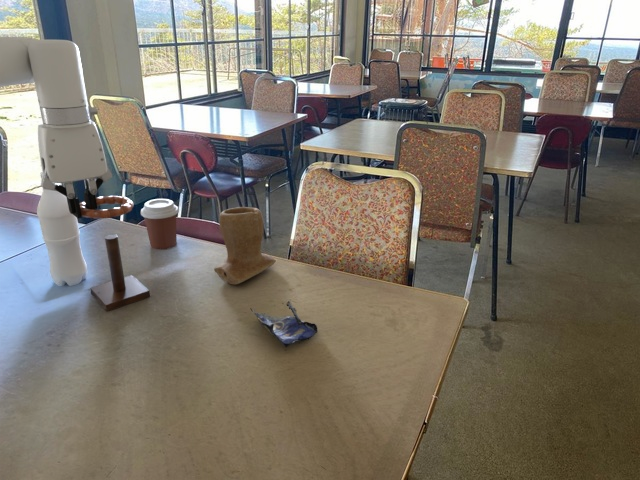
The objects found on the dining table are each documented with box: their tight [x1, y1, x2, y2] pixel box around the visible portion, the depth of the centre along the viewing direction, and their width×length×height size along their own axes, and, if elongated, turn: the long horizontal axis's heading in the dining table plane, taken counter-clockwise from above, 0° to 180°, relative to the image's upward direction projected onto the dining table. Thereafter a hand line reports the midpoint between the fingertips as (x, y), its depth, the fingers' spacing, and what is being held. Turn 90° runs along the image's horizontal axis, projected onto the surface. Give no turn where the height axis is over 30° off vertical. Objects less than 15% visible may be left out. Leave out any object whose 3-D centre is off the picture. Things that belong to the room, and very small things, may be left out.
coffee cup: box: [140, 198, 180, 251], centre depth 122 cm, size 9×9×12 cm
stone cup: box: [213, 206, 276, 285], centre depth 110 cm, size 15×12×15 cm
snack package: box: [250, 300, 319, 351], centre depth 90 cm, size 12×6×12 cm
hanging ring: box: [79, 195, 135, 220], centre depth 93 cm, size 10×10×2 cm
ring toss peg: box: [89, 234, 151, 312], centre depth 99 cm, size 9×9×14 cm
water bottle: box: [36, 171, 88, 287], centre depth 101 cm, size 7×7×25 cm
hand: (84, 214), depth 91 cm, fingers closed on hanging ring, 2 cm apart
